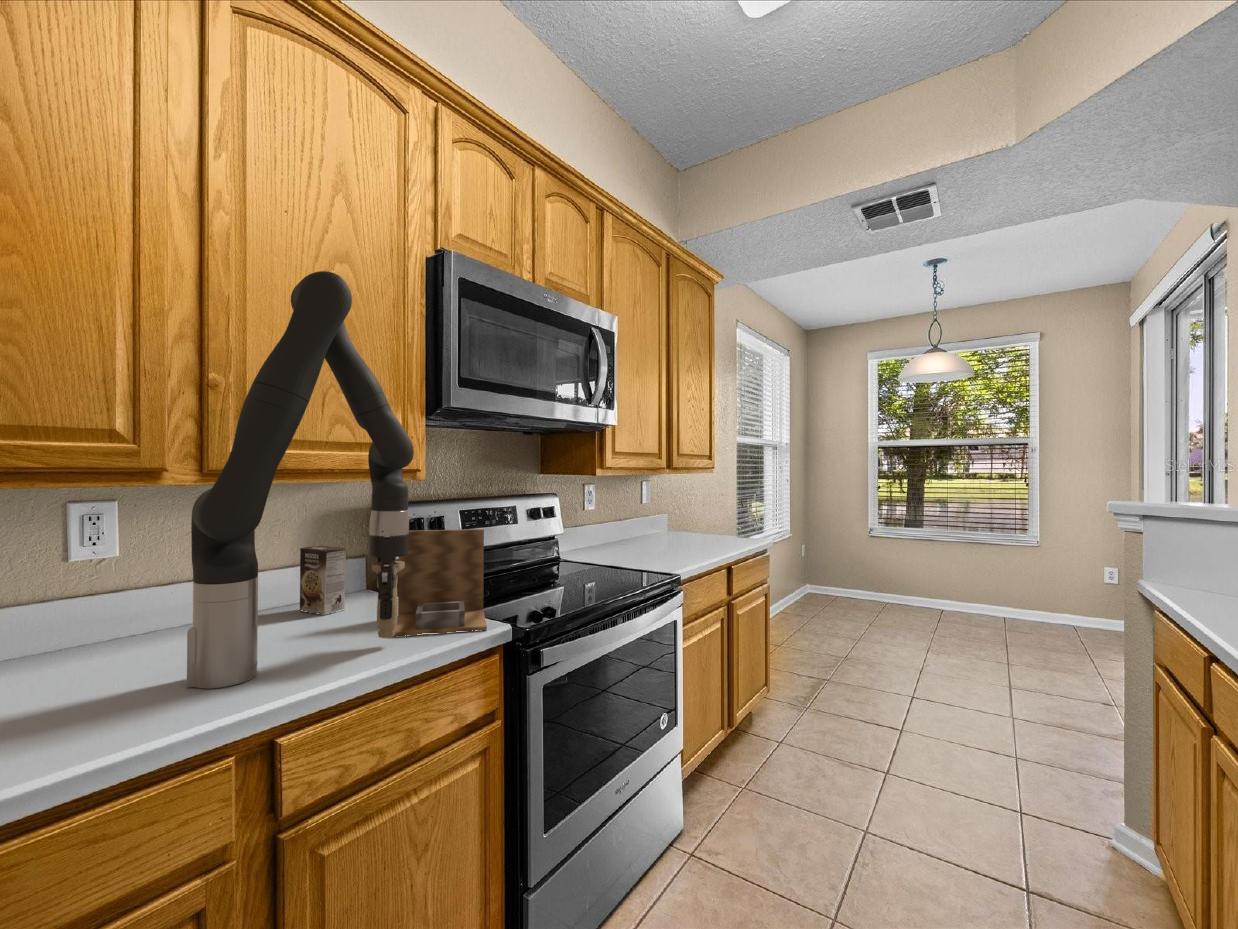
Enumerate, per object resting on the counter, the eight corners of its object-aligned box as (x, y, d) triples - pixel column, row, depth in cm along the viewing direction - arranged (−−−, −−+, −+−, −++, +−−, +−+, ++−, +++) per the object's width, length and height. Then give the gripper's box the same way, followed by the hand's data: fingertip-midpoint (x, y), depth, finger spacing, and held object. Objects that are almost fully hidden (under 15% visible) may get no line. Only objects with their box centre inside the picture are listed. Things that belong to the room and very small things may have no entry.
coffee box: (298, 612, 143) (298, 547, 143) (320, 606, 149) (321, 544, 149) (324, 616, 139) (324, 550, 139) (346, 610, 145) (346, 546, 145)
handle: (407, 634, 118) (409, 562, 118) (380, 642, 112) (382, 566, 112) (392, 631, 120) (394, 560, 120) (365, 638, 115) (367, 564, 115)
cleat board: (391, 637, 122) (392, 539, 122) (399, 615, 141) (400, 530, 141) (486, 630, 128) (487, 537, 128) (482, 610, 146) (483, 528, 146)
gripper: (374, 528, 122) (372, 609, 122) (364, 536, 109) (362, 626, 108) (411, 528, 124) (409, 607, 124) (406, 536, 111) (403, 624, 111)
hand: (387, 615), depth 116 cm, fingers closed on handle, 4 cm apart
